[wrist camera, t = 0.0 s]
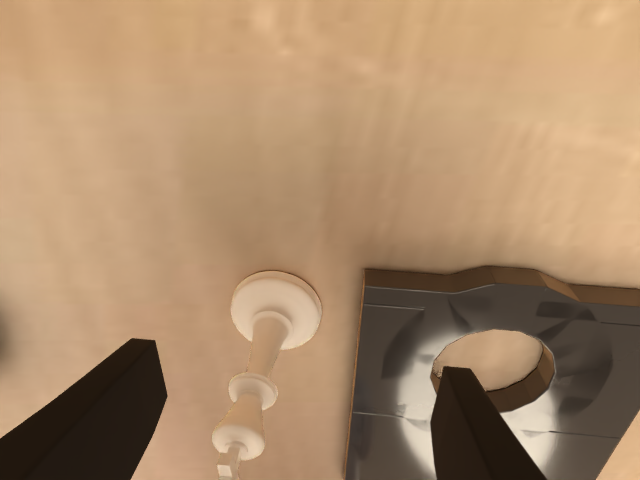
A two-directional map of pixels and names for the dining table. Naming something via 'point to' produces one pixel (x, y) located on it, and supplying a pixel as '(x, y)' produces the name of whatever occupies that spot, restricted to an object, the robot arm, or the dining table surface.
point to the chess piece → (262, 358)
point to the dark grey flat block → (512, 402)
